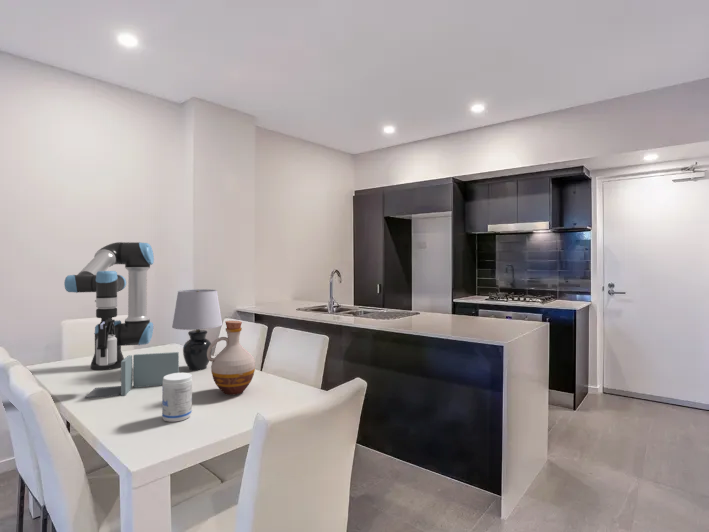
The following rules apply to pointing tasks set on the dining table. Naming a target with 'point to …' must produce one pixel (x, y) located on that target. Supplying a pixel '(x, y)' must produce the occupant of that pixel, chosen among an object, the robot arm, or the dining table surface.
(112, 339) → the can
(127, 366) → the screen
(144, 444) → the dining table surface
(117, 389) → the coaster
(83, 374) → the dining table surface
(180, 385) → the supplement tub
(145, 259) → the robot arm
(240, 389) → the jug
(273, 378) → the dining table surface
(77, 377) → the dining table surface
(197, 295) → the lamp
